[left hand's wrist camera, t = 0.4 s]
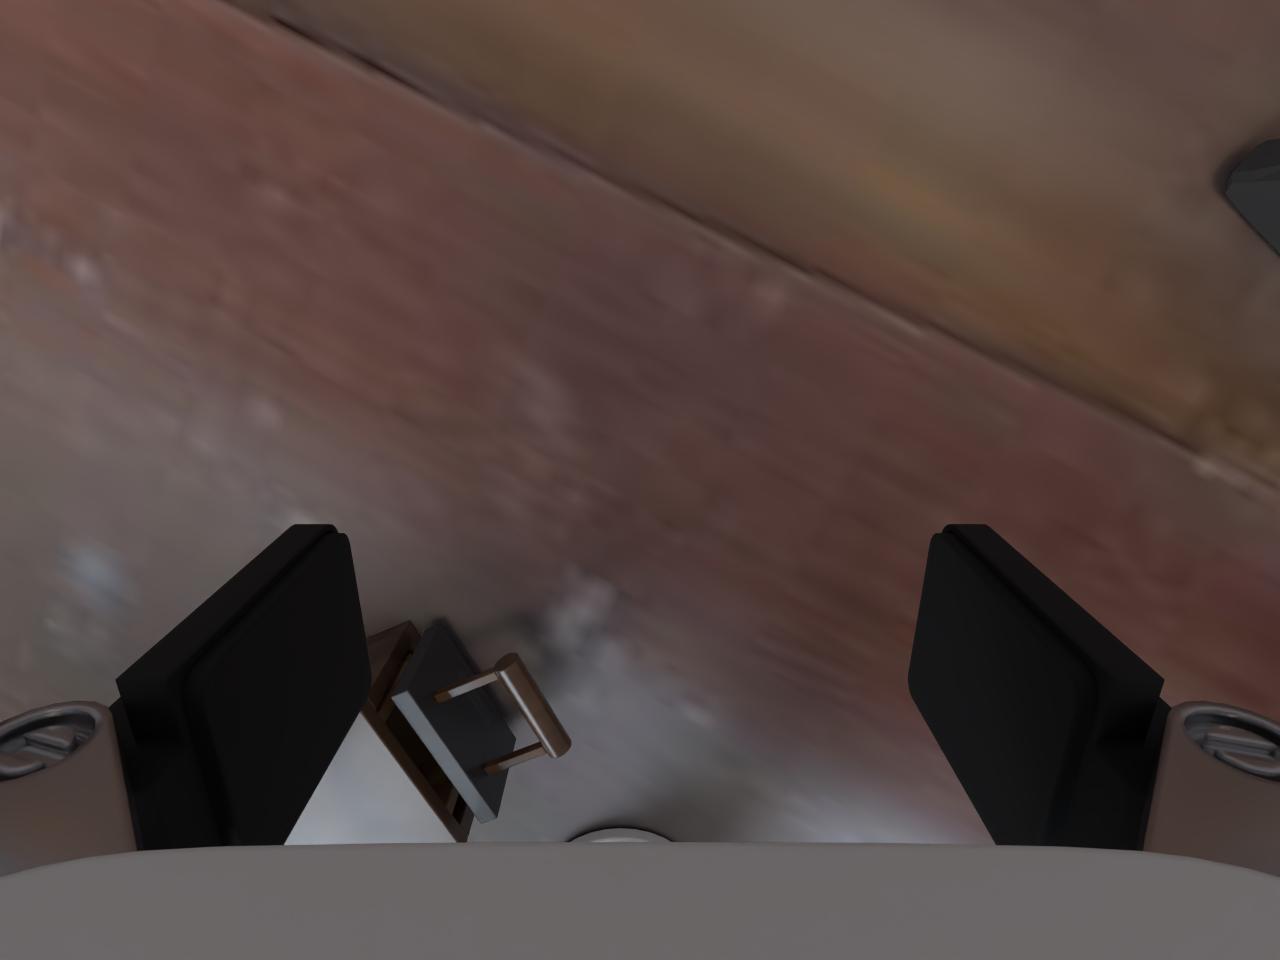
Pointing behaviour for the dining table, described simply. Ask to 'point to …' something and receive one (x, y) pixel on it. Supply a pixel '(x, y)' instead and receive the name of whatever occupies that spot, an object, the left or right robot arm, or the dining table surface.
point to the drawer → (465, 722)
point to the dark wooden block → (379, 775)
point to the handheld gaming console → (1259, 190)
